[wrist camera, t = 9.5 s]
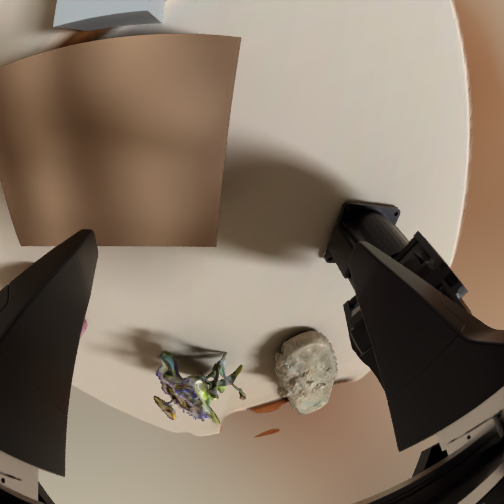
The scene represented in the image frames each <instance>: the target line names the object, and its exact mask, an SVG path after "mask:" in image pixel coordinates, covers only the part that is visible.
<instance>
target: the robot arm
mask: <svg viewBox="0 0 504 504" xmlns="http://www.w3.org/2000/svg"><path fill="white" fill-rule="evenodd" d="M349 206H350V207H349ZM347 207H349V208H348V209H347ZM399 215H400V210H399V209H398V208H397V207H391V206H384V205H376V204H367V203H358V202H345V203H344V204H343V206H342V209H341V212H340V214H339V217H338V220H337V223H336V225H335V227H334V230H333V232H332V235H331V238H330V241H329V243H328V246H327V251H326V253H325V256H324V259H325V261H326V262H327V263H336V264H337V265H338V267H339V269H340V271H341V273H342V275H343V276H344V278H348V279H349V281H350V283H351V285H352V286H353V288H354V290H355V293H356V295H355V296H354V297H353V298H352V299H351V300H349V301H347V302H346V303H345V304H344V305H343V306H344V311H345V316H346V321H347V326H348V331H349V337H350V341H351V346H352V349H353V350H354V351H355V352H356V354H357V356H358V357H359V358H360V359H361V360H362V361H363V362H364V363H365V364H366V365H367V366H369V367H370V369H371V370H372V371H373V373H374V374H375V375H376V377H377V378H378V380H379V382H380V383H381V385H382V387H383V389H384V391H385V393H386V397H387V400H388V406H389V410H390V414H391V418H392V423H393V427H394V432H395V437H396V442H397V447H398V450H399V452H401V451H403V450H405V449H407V448H409V447H411V446H414V445H416V444H418V443H420V442H421V441H424V440H426V439H427V438H429V437H431V436H433V435H435V434H436V436H437V439H438V443H437V444H435V445H433V446H431V447H430V448H428V449H426V450H424V451H422V452H421V455H420V458H419V461H418V463H417V466H416V468H415V471H414V474H413V476H412V478H410V479H408V480H406V481H404V482H402V483H400V484H398V485H396V486H394V487H392V488H390V489H388V490H385V491H383V492H381V493H378V494H376V495H374V496H371V497H369V498H366V499H364V500H361V501H359V502H356V503H353V504H504V330H496V329H493V328H490V327H489V326H487V325H485V324H484V323H483V322H481V321H480V320H478V319H477V318H475V317H474V316H473V315H472V313H471V311H470V309H469V308H468V306H467V305H466V304H465V302H464V301H463V300H462V297H463V296H464V295H465V294H466V293H467V292H468V291H467V289H466V288H465V287H464V285H463V284H462V283H461V281H460V280H459V279H458V277H457V276H456V275H455V273H454V272H453V271H452V269H451V268H450V267H449V266H448V264H447V263H446V262H445V261H444V260H443V258H442V257H441V256H440V255H439V254H438V252H437V251H436V250H435V249H434V248H433V247H432V246H431V244H430V243H429V242H428V241H427V240H426V239H425V238H424V237H423V236H422V235H421V233H420V232H419V231H417V232H416V234H415V235H414V237H413V238H412V239H411V241H410V242H409V241H408V239H407V238H406V237H405V236H404V235H403V234H402V232H401V231H400V230H399V229H398V228H397V227H396V226H395V224H396V222H397V220H398V217H399ZM329 257H330V258H329ZM97 259H98V248H97V243H96V238H95V233H94V231H93V230H92V229H81V230H79V231H78V232H77V233H75V234H74V235H72V236H71V237H69V238H68V239H66V240H65V241H63V242H62V243H61V244H59V245H58V246H56V247H55V248H54V249H52V250H51V251H50V252H48V253H47V254H46V255H44V256H43V257H42V258H40V259H39V260H38V261H36V262H35V263H34V264H32V265H31V266H30V267H29V268H27V269H26V270H25V271H24V272H22V273H21V274H20V275H19V276H17V277H16V278H15V279H14V280H13V281H11V282H10V283H9V285H7V286H5V287H4V288H3V289H2V290H1V291H0V504H55V503H54V502H53V501H52V500H51V498H50V497H49V496H48V495H47V493H46V491H45V490H44V489H43V487H42V486H41V484H40V483H39V482H38V468H39V469H41V470H44V471H47V472H50V473H53V474H56V475H60V476H63V477H65V448H66V447H65V446H66V429H67V415H68V406H69V398H70V389H71V383H72V377H73V371H74V365H75V360H76V354H77V349H78V345H79V340H80V335H81V331H82V327H83V323H84V318H85V315H86V311H87V307H88V303H89V299H90V295H91V290H92V284H93V278H94V273H95V268H96V263H97Z"/></svg>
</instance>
